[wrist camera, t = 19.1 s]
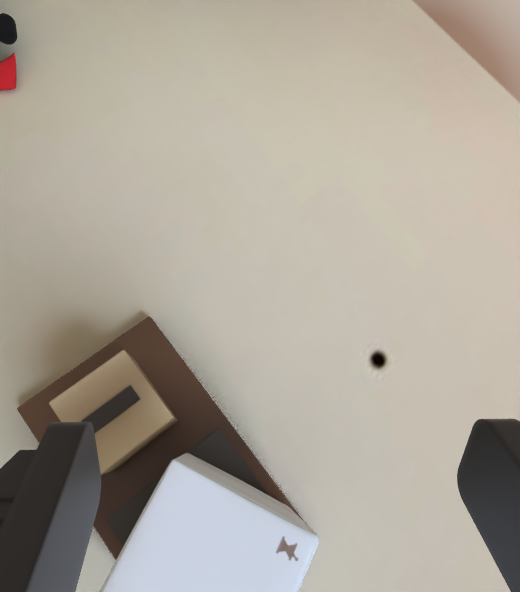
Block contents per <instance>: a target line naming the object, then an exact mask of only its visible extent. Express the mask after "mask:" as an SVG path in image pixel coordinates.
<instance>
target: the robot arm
mask: <svg viewBox="0 0 520 592" xmlns="http://www.w3.org/2000/svg"><path fill="white" fill-rule="evenodd" d="M457 482H458V488H459V492H460V495H461V498H462V500H463V502H464V504H465V506H466V508H467V510H468V511H469V513H470V515H471V517H472V519H473V521H474V523H475V525H476V527H477V528H478V530H479V532H480V534H481V536H482V538H483V540H484V542H485V543H486V545H487V547H488V549H489V551H490V553H491V555H492V557H493V559H494V560H495V562H496V564H497V566H498V568H499V570H500V572H501V574H502V575H503V577H504V579H505V581H506V583H507V585H508V587H509V589H510V591H511V592H520V421H518V420H516V419H479V420H477V421H476V422H475V424H474V426H473V428H472V431H471V434H470V437H469V439H468V442H467V445H466V448H465V451H464V454H463V457H462V459H461V462H460V465H459V468H458V473H457ZM100 493H101V473H100V466H99V460H98V453H97V446H96V440H95V433H94V427H93V424H92V423H91V422H52V423H50V424H49V426H48V427H47V429H46V431H45V433H44V435H43V438H42V440H41V442H40V444H39V446H38V448H37V450H19V451H18V452H17V453H16V454H15V455H14V456H13V457H12V458H11V459H10V460H9V461H8V462H7V463H6V464H5V465H4V466H3V467H2V468H1V469H0V592H75V590H76V587H77V583H78V579H79V576H80V572H81V568H82V565H83V561H84V557H85V554H86V550H87V546H88V543H89V539H90V535H91V532H92V528H93V524H94V521H95V517H96V513H97V509H98V505H99V500H100Z"/></svg>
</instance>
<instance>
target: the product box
mask: <svg viewBox="0 0 520 592" xmlns="http://www.w3.org/2000/svg"><path fill="white" fill-rule="evenodd" d="M318 543H319V536H318V535H317V534H316V533H315V532H314V531H313V530H312V529H311V528H310V527H309V526H308V525H307V524H306V523H305V522H304V521H303V520H302V519H301V518H300V517H299V516H298V515H297V514H296V513H295V512H294V511H293V510H292V509H290V508H289V507H288V506H287V505H285V504H283V503H281V502H279V501H278V500H276V499H274V498H272V497H270V496H268V495H267V494H265V493H263V492H261V491H259V490H258V489H256V488H254V487H252V486H250V485H248V484H247V483H245V482H243V481H241V480H239V479H237V478H236V477H234V476H232V475H230V474H228V473H226V472H224V471H222V470H220V469H218V468H216V467H214V466H212V465H211V464H209V463H207V462H205V461H203V460H201V459H199V458H197V457H195V456H193V455H191V454H189V453H185V454H183V455H181V456H180V457H178V458H176V459H173V460H172V461H171V462H170V464H169V465H168V467H167V469H166V471H165V472H164V474H163V476H162V477H161V479H160V481H159V483H158V485H157V486H156V488H155V490H154V492H153V493H152V495H151V497H150V499H149V501H148V502H147V504H146V506H145V508H144V510H143V512H142V513H141V515H140V517H139V519H138V521H137V523H136V524H135V526H134V528H133V530H132V532H131V534H130V535H129V537H128V539H127V541H126V543H125V545H124V547H123V548H122V550H121V552H120V554H119V556H118V558H117V560H116V561H115V563H114V565H113V567H112V569H111V571H110V573H109V575H108V577H107V578H106V580H105V582H104V584H103V586H102V588H101V590H100V592H298V591H299V589H300V587H301V584H302V582H303V580H304V577H305V575H306V572H307V570H308V568H309V565H310V563H311V561H312V558H313V556H314V553H315V551H316V549H317V546H318Z"/></svg>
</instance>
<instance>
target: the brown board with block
mask: <svg viewBox="0 0 520 592" xmlns="http://www.w3.org/2000/svg"><path fill="white" fill-rule="evenodd" d="M17 409H18V411H19V413H20V414H21V416H22V417H23V419H24V420H25V422H26V423H27V425H28V426H29V428H30V429H31V431H32V433H33V434H34V436H35V437H36V439H37V440H38V442H39V443H40V442H41V440H42V438H43V435H44V433H45V431H46V429H47V427H48V426H49V424H50V423H52V422H91V423H92V424H93V427H94V433H95V440H96V446H97V453H98V460H99V466H100V473H101V493H100V500H99V505H98V509H97V513H96V517H95V521H94V524H93V526H94V527H95V529H96V530H97V532H98V533H99V535H100V537H101V538H102V540H103V541H104V543H105V544H106V546H107V547H108V549H109V550H110V552H111V553H112V555H113V556H114V558H115V559H116V560H117V558H118V556H119V554H120V552H121V550H122V548H123V547H124V545H125V543H126V541H127V539H128V537H129V535H130V534H131V532H132V530H133V528H134V526H135V524H136V523H137V521H138V519H139V517H140V515H141V513H142V512H143V510H144V508H145V506H146V504H147V502H148V501H149V499H150V497H151V495H152V493H153V492H154V490H155V488H156V486H157V485H158V483H159V481H160V479H161V477H162V476H163V474H164V472H165V471H166V469H167V467H168V465H169V464H170V462H171V461H172V460H173V459H176V458H178V457H180V456H181V455H183V454H185V453H189V454H191V455H193V456H195V457H197V458H199V459H201V460H203V461H205V462H207V463H209V464H211V465H212V466H214V467H216V468H218V469H220V470H222V471H224V472H226V473H228V474H230V475H232V476H234V477H236V478H237V479H239V480H241V481H243V482H245V483H247V484H248V485H250V486H252V487H254V488H256V489H258V490H259V491H261V492H263V493H265V494H267V495H268V496H270V497H272V498H274V499H276V500H278V501H279V502H281V503H283V504H285V505H287V506H288V507H289V508H290V509H292V510H293V511H294V512H295V513H296V514H297V515H298V516H299V514H298V513H297V512H296V510H295V509H294V508H293V506H292V505H291V504H290V502H289V501H288V500H287V498H286V497H285V496H284V494H283V493H282V492H281V490H280V489H279V488H278V486H277V485H276V484H275V482H274V481H273V480H272V478H271V477H270V476H269V474H268V473H267V472H266V470H265V469H264V468H263V466H262V465H261V464H260V462H259V461H258V460H257V458H256V457H255V456H254V454H253V453H252V452H251V450H250V449H249V448H248V446H247V445H246V444H245V442H244V441H243V440H242V438H241V437H240V436H239V434H238V433H237V432H236V430H235V429H234V428H233V426H232V425H231V424H230V422H229V421H228V420H227V418H226V417H225V416H224V414H223V413H222V412H221V410H220V409H219V408H218V406H217V405H216V404H215V402H214V401H213V400H212V398H211V397H210V396H209V394H208V393H207V392H206V390H205V389H204V388H203V386H202V385H201V384H200V382H199V381H198V380H197V378H196V377H195V376H194V374H193V373H192V372H191V370H190V369H189V368H188V366H187V365H186V364H185V362H184V361H183V360H182V358H181V357H180V356H179V354H178V353H177V352H176V350H175V349H174V348H173V346H172V345H171V344H170V342H169V341H168V340H167V338H166V337H165V336H164V334H163V333H162V332H161V330H160V329H159V328H158V326H157V325H156V324H155V322H154V321H153V320H152V318H151V317H147V318H146V319H145V320H143V321H142V322H140V323H139V324H137V325H136V326H135V327H133V328H132V329H130V330H129V331H127V332H126V333H124V334H123V335H122V336H120V337H119V338H117V339H116V340H114V341H113V342H112V343H110V344H109V345H107V346H106V347H104V348H103V349H101V350H100V351H99V352H97V353H96V354H94V355H93V356H91V357H90V358H89V359H87V360H86V361H84V362H83V363H81V364H80V365H78V366H77V367H76V368H74V369H73V370H71V371H70V372H68V373H67V374H66V375H64V376H63V377H61V378H60V379H58V380H57V381H55V382H54V383H53V384H51V385H50V386H48V387H47V388H45V389H44V390H43V391H41V392H40V393H38V394H37V395H35V396H34V397H33V398H31V399H30V400H28V401H27V402H25V403H24V404H22V405H21V406H20V407H18V408H17ZM299 517H300V516H299ZM300 518H301V517H300ZM301 519H302V518H301Z"/></svg>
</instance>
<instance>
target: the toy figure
mask: <svg viewBox="0 0 520 592" xmlns="http://www.w3.org/2000/svg"><path fill="white" fill-rule="evenodd" d="M16 40H17V32H16V24H15V21H14V20H13V18H12V17H11V16H9V15H8V14H4V13H2V14H0V41H1V42H3V43H5V44H13V43H14V42H15V41H16ZM15 88H16V60H15V53H13V54H12V55H11V56H10V57H9V58H8V59H6V60H4V61H2V62H0V91H1V90H11V89H15Z"/></svg>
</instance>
